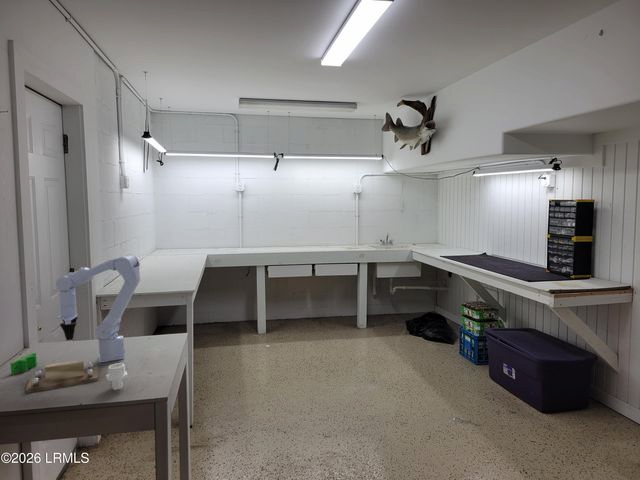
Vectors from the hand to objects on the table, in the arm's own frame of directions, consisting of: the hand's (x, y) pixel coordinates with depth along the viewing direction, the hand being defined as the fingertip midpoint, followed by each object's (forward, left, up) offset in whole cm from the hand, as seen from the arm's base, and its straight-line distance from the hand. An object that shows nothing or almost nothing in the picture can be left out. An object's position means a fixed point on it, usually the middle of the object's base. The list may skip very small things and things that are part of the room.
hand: (70, 337), depth 179 cm
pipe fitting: (-16, +39, -10) cm, 43 cm away
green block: (+15, +3, -10) cm, 18 cm away
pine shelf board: (+1, +23, -8) cm, 24 cm away
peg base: (+1, +23, -9) cm, 25 cm away
